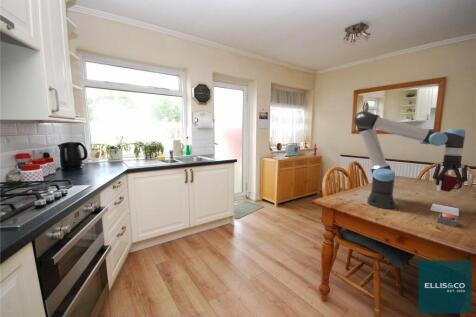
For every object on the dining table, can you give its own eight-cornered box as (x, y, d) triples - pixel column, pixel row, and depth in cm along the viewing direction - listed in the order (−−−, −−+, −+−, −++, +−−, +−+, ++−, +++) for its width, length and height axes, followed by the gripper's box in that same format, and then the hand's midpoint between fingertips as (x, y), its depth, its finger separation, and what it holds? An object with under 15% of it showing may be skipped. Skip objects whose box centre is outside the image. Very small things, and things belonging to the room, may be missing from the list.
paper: (458, 216, 117) (458, 215, 117) (430, 210, 126) (430, 209, 126) (458, 209, 128) (459, 208, 128) (432, 204, 137) (432, 203, 137)
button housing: (455, 227, 104) (456, 221, 103) (437, 222, 109) (438, 217, 109) (456, 223, 108) (456, 217, 108) (438, 219, 113) (439, 213, 113)
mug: (462, 194, 122) (468, 178, 120) (455, 195, 119) (461, 178, 117) (440, 188, 132) (445, 173, 130) (433, 188, 129) (438, 173, 127)
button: (453, 221, 105) (453, 216, 105) (441, 218, 109) (441, 214, 108) (453, 219, 108) (454, 214, 108) (441, 216, 111) (442, 212, 111)
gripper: (433, 154, 123) (428, 190, 126) (481, 156, 115) (474, 195, 118) (427, 153, 130) (423, 187, 133) (472, 154, 122) (466, 191, 125)
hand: (447, 191), depth 125 cm, fingers closed on mug, 8 cm apart
